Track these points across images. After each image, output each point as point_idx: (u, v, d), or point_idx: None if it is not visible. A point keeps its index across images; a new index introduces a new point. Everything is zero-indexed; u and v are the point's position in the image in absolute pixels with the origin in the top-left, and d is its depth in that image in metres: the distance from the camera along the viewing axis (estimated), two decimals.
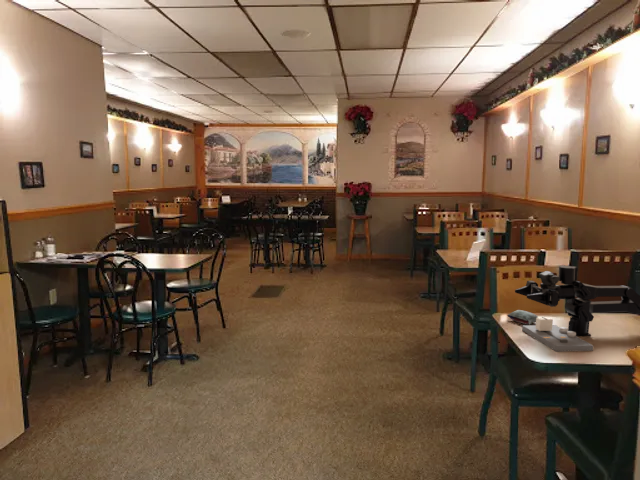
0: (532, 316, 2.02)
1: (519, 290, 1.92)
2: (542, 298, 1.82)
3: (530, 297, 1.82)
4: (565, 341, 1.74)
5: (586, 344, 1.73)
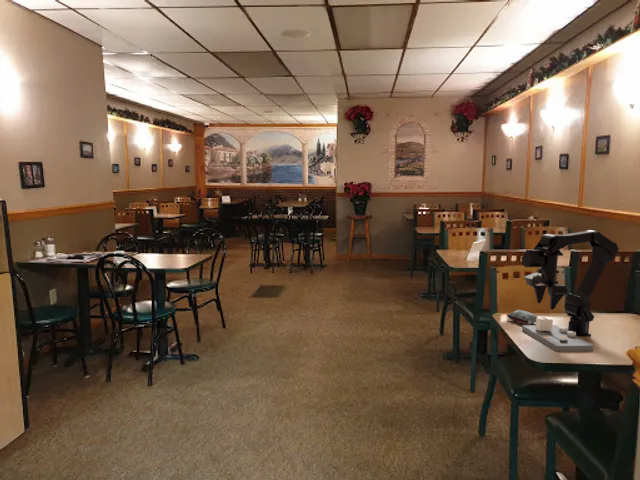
0: (532, 316, 2.02)
1: (538, 298, 1.91)
2: (556, 295, 1.80)
3: (553, 306, 1.81)
4: (565, 341, 1.74)
5: (586, 344, 1.73)
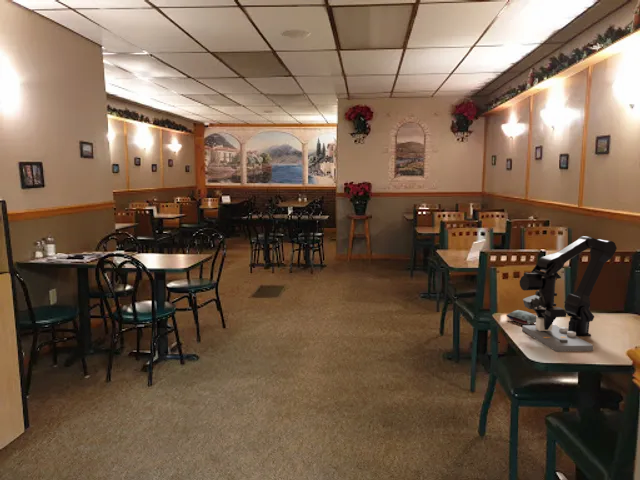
0: (531, 316, 2.01)
1: None
2: (550, 316, 1.84)
3: (547, 327, 1.85)
4: (565, 341, 1.74)
5: (586, 344, 1.73)
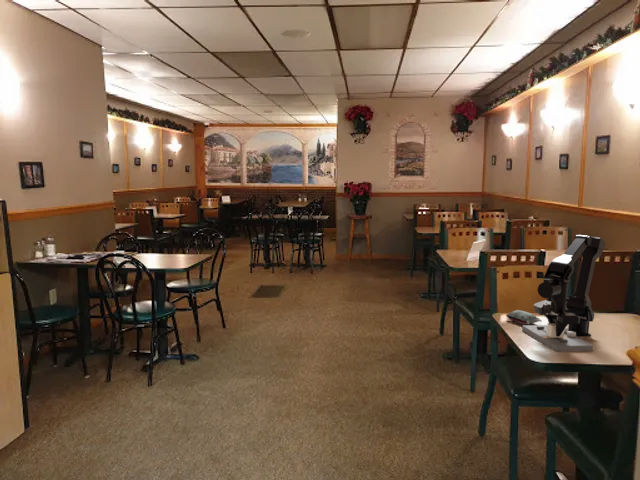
0: (530, 316, 2.01)
1: None
2: (562, 322, 1.76)
3: (559, 333, 1.78)
4: (565, 341, 1.74)
5: (586, 344, 1.73)
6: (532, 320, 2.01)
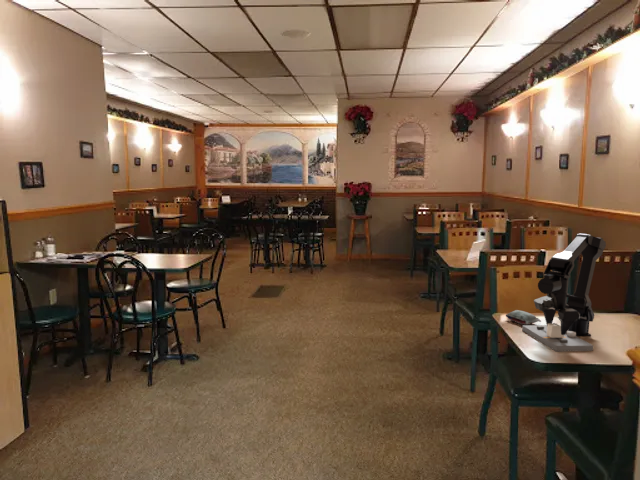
0: (530, 316, 2.01)
1: (548, 322, 1.84)
2: (567, 321, 1.73)
3: (564, 332, 1.74)
4: (565, 341, 1.74)
5: (586, 344, 1.73)
6: (531, 320, 2.01)
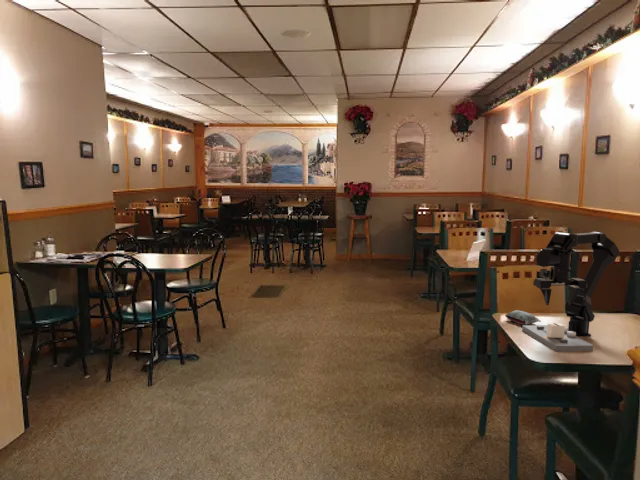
0: (529, 316, 2.01)
1: (569, 300, 1.85)
2: (546, 291, 1.83)
3: (546, 302, 1.84)
4: (565, 341, 1.74)
5: (586, 344, 1.73)
6: (531, 320, 2.01)
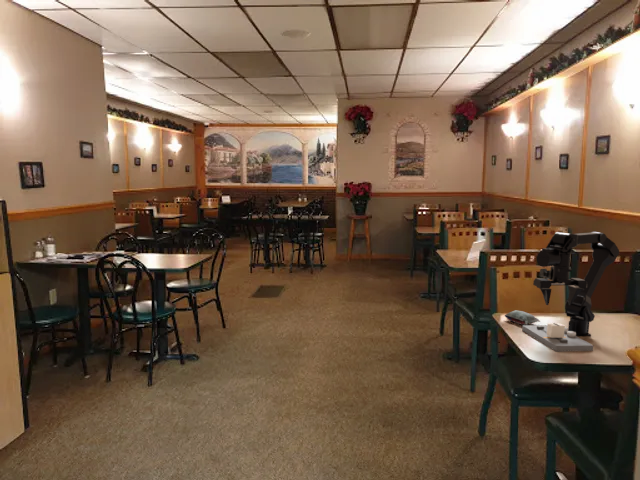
0: (529, 316, 2.01)
1: (569, 300, 1.85)
2: (545, 291, 1.83)
3: (546, 302, 1.84)
4: (565, 341, 1.74)
5: (586, 344, 1.73)
6: (530, 320, 2.01)
